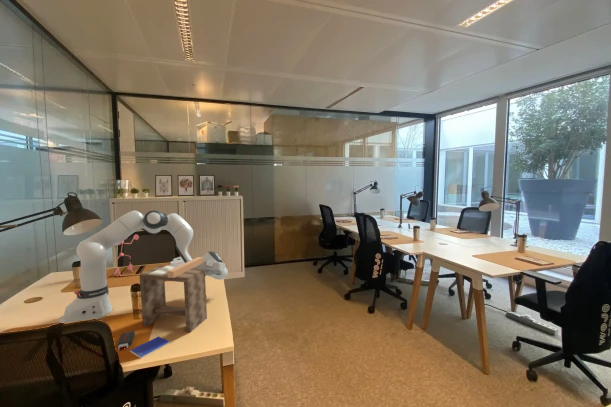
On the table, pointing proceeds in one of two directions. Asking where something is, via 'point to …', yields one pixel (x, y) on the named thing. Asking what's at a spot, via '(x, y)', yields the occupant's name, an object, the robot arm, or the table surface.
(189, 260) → the robot arm
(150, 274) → the stand
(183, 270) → the handle bar
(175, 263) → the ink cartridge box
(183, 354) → the table surface
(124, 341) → the usb drive
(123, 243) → the pink wire sculpture
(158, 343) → the hard drive
